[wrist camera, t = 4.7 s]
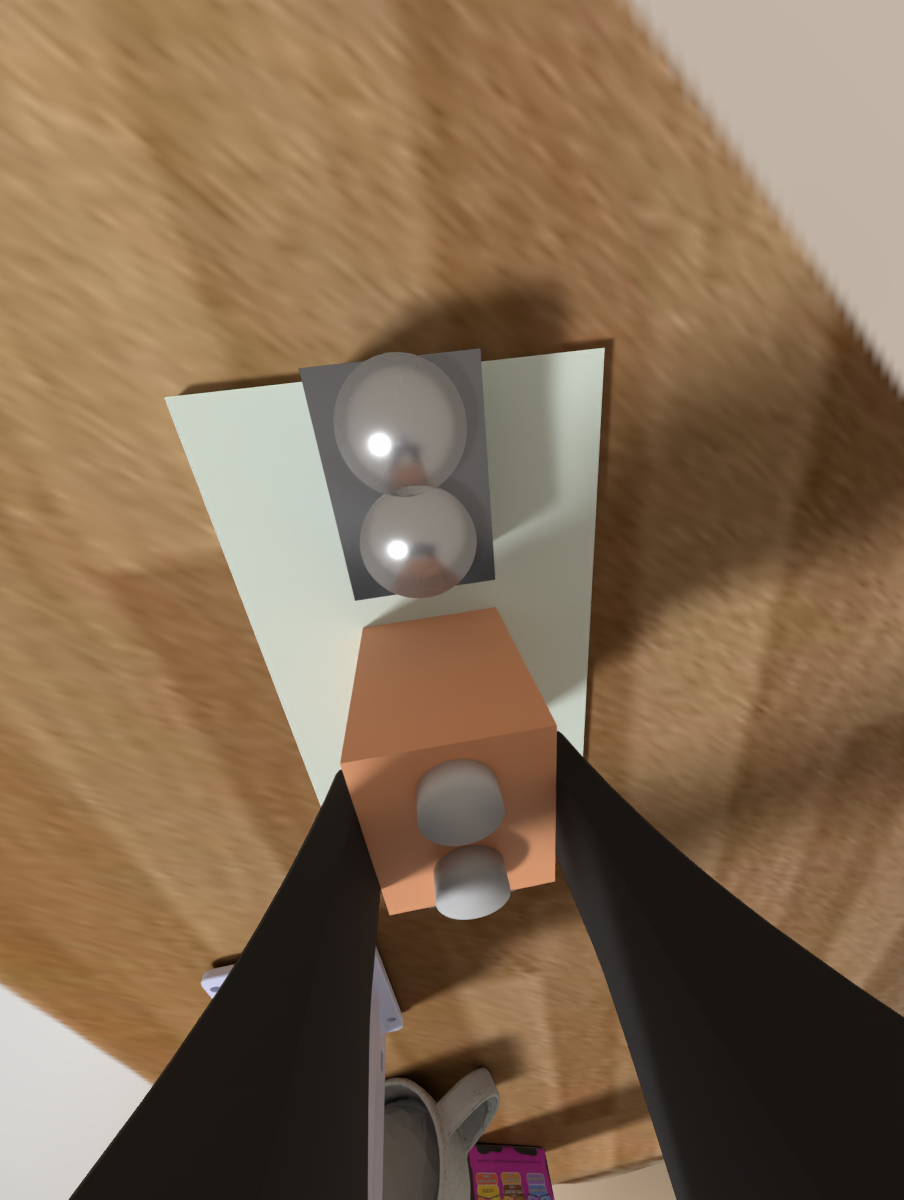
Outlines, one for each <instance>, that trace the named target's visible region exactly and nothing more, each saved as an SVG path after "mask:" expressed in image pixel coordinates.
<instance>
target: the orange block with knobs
mask: <svg viewBox="0 0 904 1200" xmlns="http://www.w3.org/2000/svg"><path fill="white" fill-rule="evenodd" d="M556 758H557V724H556V722H555V720H554V719H553V717H552V715H551V713H550V711H549V709H548V707H547V705H546V703H545V701H544V699H543V697H542V695H541V693H540V691H539V689H538V688H537V686H536V684H535V682H534V680H533V678H532V676H531V674H530V672H529V670H528V668H527V666H526V664H525V662H524V660H523V658H522V657H521V655H520V653H519V651H518V649H517V647H516V645H515V643H514V641H513V639H512V637H511V635H510V633H509V631H508V629H507V627H506V626H505V624H504V622H503V620H502V618H501V616H500V614H499V612H498V610H497V608H496V607H493V608H487V609H481V610H474V611H468V612H461V613H455V614H448V615H442V616H435V617H429V618H423V619H416V620H410V621H403V622H397V623H390V624H384V625H377V626H371V627H365V628H363V630H362V636H361V642H360V648H359V654H358V660H357V666H356V672H355V677H354V683H353V689H352V695H351V701H350V707H349V713H348V719H347V725H346V731H345V737H344V743H343V749H342V755H341V761H340V765H341V768H342V771H343V774H344V777H345V781H346V784H347V787H348V790H349V793H350V796H351V799H352V802H353V805H354V808H355V811H356V814H357V817H358V820H359V823H360V826H361V829H362V832H363V835H364V839H365V842H366V845H367V848H368V851H369V854H370V857H371V860H372V863H373V866H374V869H375V872H376V875H377V878H378V881H379V884H380V887H381V890H382V894H383V897H384V900H385V903H386V906H387V909H388V912H389V915H394V914H399V913H404V912H408V911H413V910H418V909H423V908H428V907H433V906H436V907H437V909H438V911H439V912H440V913H441V914H443V915H445V916H446V917H449V918H453V919H459V920H468V919H476V918H480V917H483V916H486V915H489V914H491V913H493V912H495V911H497V910H498V909H500V908H501V907H502V906H503V905H504V904H505V903H506V902H507V901H508V899H509V897H510V894H511V890H516V889H521V888H526V887H531V886H535V885H540V884H545V883H550V882H555V837H556Z"/></svg>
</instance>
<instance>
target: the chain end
mask: <svg viewBox="0 0 904 1200" xmlns="http://www.w3.org/2000/svg"><path fill="white" fill-rule="evenodd" d="M299 372H300V376H301V380H302V384H303V388H304V392H305V396H306V400H307V405H308V409H309V413H310V417H311V421H312V425H313V429H314V434H315V438H316V442H317V446H318V450H319V454H320V458H321V462H322V467H323V471H324V475H325V479H326V483H327V487H328V491H329V495H330V500H331V504H332V508H333V512H334V516H335V520H336V524H337V529H338V533H339V537H340V541H341V545H342V549H343V553H344V557H345V562H346V566H347V570H348V574H349V578H350V582H351V586H352V590H353V595H354V599H355V601H358V600H364V599H371V598H378V597H384V596H391V595H400V596H404V597H408V598H428V597H433V596H436V595H439V594H442V593H444V592H446V591H448V590H449V589H451V588H453V587H454V586H457V585H464V584H471V583H477V582H484V581H490V580H495V566H494V551H493V535H492V520H491V504H490V489H489V473H488V458H487V443H486V427H485V412H484V396H483V381H482V365H481V350H480V348H479V349H470V350H461V351H452V352H443V353H434V354H425V355H414V354H410V353H404V352H389V353H384V354H380V355H377V356H374V357H371V358H370V359H368V360H366V361H361V362H352V363H343V364H334V365H325V366H316V367H307V368H299Z"/></svg>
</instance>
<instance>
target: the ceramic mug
mask: <svg viewBox="0 0 904 1200" xmlns="http://www.w3.org/2000/svg"><path fill="white" fill-rule="evenodd" d="M499 1102H500V1096H499V1092H498V1090H497V1088H496V1085H495V1083H494V1081H493V1079H492V1077H491V1075H490V1072H489V1071H488V1070H487V1069H486V1068H479V1069H476V1070H474V1071H472V1072H470V1073H469V1074H467V1075H466V1076H465V1077H463V1078H462V1079H461V1080H459V1081H458V1082H457V1083H456V1084H455V1085H454V1086H453V1087H452V1088H451V1089H450V1090H449V1091H448V1092H447V1093H446V1094H445V1095H444V1096H443V1097H442V1098H441V1099H440V1101H438V1102H436V1101H435V1100H434V1099H433V1098H432V1097H431V1096H430V1095H429V1094H428V1093H427V1092H426V1091H425V1090H424V1089H423V1088H422V1087H420V1086H419V1085H418V1084H416V1083H415V1082H413V1081H411V1080H409V1079H407V1078H389V1079H386V1080H385V1095H384V1144H383V1193H382V1200H470V1177H469V1169H468V1162H467V1156H468V1152H469V1151H470V1149H471V1148H472V1147H473V1146H474V1145H475V1144H476V1142H477V1141H478V1139H479V1137H480V1136H481V1135H482V1134H483V1133H484V1132H485V1130H486V1129H487V1127H488V1126H489V1124H490V1123H491V1122H492V1120H493V1117H494V1116H495V1114H496V1112H497V1109H498V1106H499Z"/></svg>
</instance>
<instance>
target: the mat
mask: <svg viewBox="0 0 904 1200" xmlns="http://www.w3.org/2000/svg"><path fill="white" fill-rule="evenodd" d="M604 351H605V348H598V349H589V350H580V351H571V352H562V353H553V354H545V355H536V356H527V357H518V358H509V359H500V360H491V361H482V362H481V365H482V381H483V396H484V412H485V427H486V443H487V458H488V473H489V489H490V504H491V520H492V535H493V551H494V566H495V580H490V581H484V582H477V583H471V584H464V585H457V586H454V587H453V588H451V589H449V590H448V591H446V592H444V593H442V594H439V595H436V596H433V597H428V598H408V597H404V596H400V595H391V596H384V597H378V598H371V599H364V600H358V601H355V599H354V595H353V590H352V586H351V582H350V578H349V574H348V570H347V566H346V562H345V557H344V553H343V549H342V545H341V541H340V537H339V533H338V529H337V524H336V520H335V516H334V512H333V508H332V504H331V500H330V495H329V491H328V487H327V483H326V479H325V475H324V471H323V467H322V462H321V458H320V454H319V450H318V446H317V442H316V438H315V434H314V429H313V425H312V421H311V417H310V413H309V409H308V405H307V400H306V396H305V392H304V388H303V384H302V382H296V383H287V384H278V385H270V386H261V387H252V388H243V389H234V390H225V391H216V392H207V393H199V394H190V395H181V396H172V397H164V398H165V401H166V404H167V406H168V409H169V411H170V414H171V417H172V419H173V422H174V424H175V427H176V430H177V432H178V435H179V437H180V440H181V443H182V445H183V448H184V451H185V453H186V456H187V458H188V461H189V464H190V466H191V469H192V471H193V474H194V477H195V479H196V482H197V484H198V487H199V490H200V492H201V495H202V497H203V500H204V503H205V505H206V508H207V511H208V513H209V516H210V518H211V521H212V524H213V526H214V529H215V531H216V534H217V537H218V539H219V542H220V544H221V547H222V550H223V552H224V555H225V557H226V560H227V563H228V565H229V568H230V571H231V573H232V576H233V578H234V581H235V584H236V586H237V589H238V591H239V594H240V597H241V599H242V602H243V604H244V607H245V610H246V612H247V615H248V617H249V620H250V623H251V625H252V628H253V631H254V633H255V636H256V638H257V641H258V644H259V646H260V649H261V651H262V654H263V657H264V659H265V662H266V664H267V667H268V670H269V672H270V675H271V677H272V680H273V683H274V685H275V688H276V691H277V693H278V696H279V698H280V701H281V704H282V706H283V709H284V711H285V714H286V717H287V719H288V722H289V724H290V727H291V730H292V732H293V735H294V737H295V740H296V743H297V745H298V748H299V751H300V753H301V756H302V758H303V761H304V764H305V766H306V769H307V771H308V774H309V777H310V779H311V782H312V784H313V787H314V790H315V792H316V795H317V798H318V800H319V803H320V805H321V806H322V804H323V802H324V800H325V798H326V795H327V793H328V791H329V789H330V786H331V784H332V782H333V779H334V777H335V775H336V773H337V772H338V771H339V770H342V768H341V765H340V761H341V755H342V749H343V743H344V737H345V731H346V725H347V719H348V713H349V707H350V701H351V695H352V689H353V683H354V677H355V672H356V666H357V660H358V654H359V648H360V642H361V636H362V630H363V628H365V627H371V626H377V625H384V624H390V623H397V622H403V621H410V620H416V619H423V618H429V617H435V616H442V615H448V614H455V613H461V612H468V611H474V610H481V609H487V608H493V607H496V608H497V610H498V612H499V614H500V616H501V618H502V620H503V622H504V624H505V626H506V627H507V629H508V631H509V633H510V635H511V637H512V639H513V641H514V643H515V645H516V647H517V649H518V651H519V653H520V655H521V657H522V658H523V660H524V662H525V664H526V666H527V668H528V670H529V672H530V674H531V676H532V678H533V680H534V682H535V684H536V686H537V688H538V689H539V691H540V693H541V695H542V697H543V699H544V701H545V703H546V705H547V707H548V709H549V711H550V713H551V715H552V717H553V719H554V720H555V722H556V724H557V731H559V732H561V733H562V734H563V735H564V736H565V737H566V738H567V739H568V741H569V742H570V743H571V744H572V745H573V746H574V747H575V749H576V750H577V751H578V752H579V753H580V754H581V755H582V756H583V745H584V727H585V708H586V689H587V670H588V651H589V633H590V614H591V595H592V576H593V558H594V539H595V520H596V501H597V482H598V464H599V445H600V426H601V407H602V389H603V370H604Z"/></svg>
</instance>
